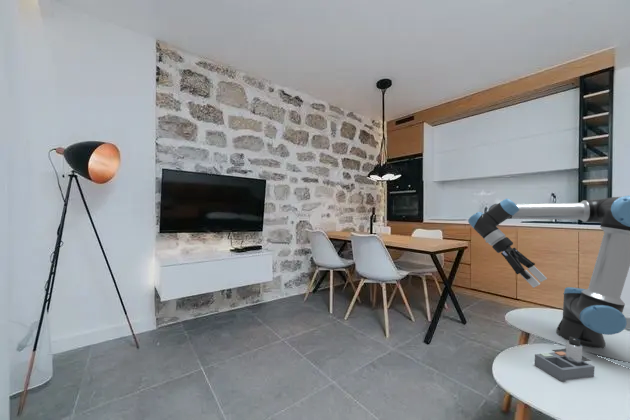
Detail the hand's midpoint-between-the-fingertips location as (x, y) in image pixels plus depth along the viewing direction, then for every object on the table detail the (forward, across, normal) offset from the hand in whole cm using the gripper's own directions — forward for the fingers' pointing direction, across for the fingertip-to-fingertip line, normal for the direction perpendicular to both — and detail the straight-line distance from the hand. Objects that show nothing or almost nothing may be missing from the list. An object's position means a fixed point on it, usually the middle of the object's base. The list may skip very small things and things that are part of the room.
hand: (540, 283), depth 104 cm
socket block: (+26, +11, -13) cm, 31 cm away
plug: (+27, +8, -12) cm, 31 cm away
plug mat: (+26, -5, -13) cm, 30 cm away
